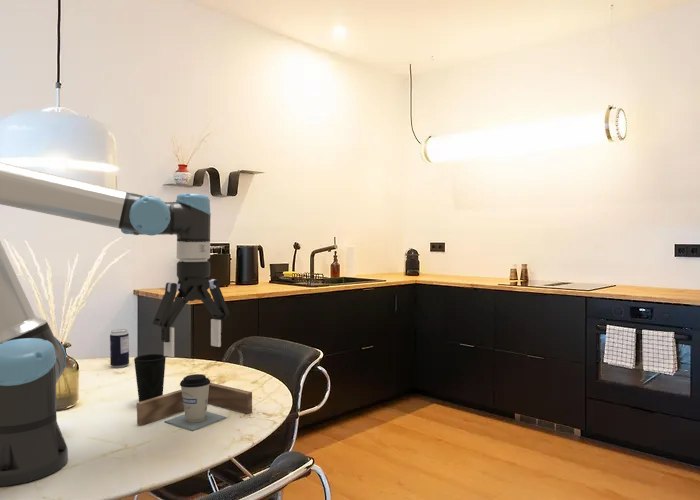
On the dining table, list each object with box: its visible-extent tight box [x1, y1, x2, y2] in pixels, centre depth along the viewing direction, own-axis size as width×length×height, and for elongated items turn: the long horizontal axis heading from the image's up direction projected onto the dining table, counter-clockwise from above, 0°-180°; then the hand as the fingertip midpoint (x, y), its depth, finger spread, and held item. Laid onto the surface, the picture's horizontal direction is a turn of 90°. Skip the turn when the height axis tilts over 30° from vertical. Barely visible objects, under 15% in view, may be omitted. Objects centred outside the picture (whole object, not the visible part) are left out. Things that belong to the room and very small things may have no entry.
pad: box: [164, 411, 228, 432], centre depth 125 cm, size 10×10×1 cm
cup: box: [133, 353, 167, 402], centre depth 137 cm, size 8×8×12 cm
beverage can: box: [109, 328, 130, 369], centre depth 176 cm, size 6×6×12 cm
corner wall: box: [136, 382, 253, 427], centre depth 126 cm, size 20×16×5 cm
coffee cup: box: [179, 373, 211, 422], centre depth 125 cm, size 7×7×10 cm
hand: (193, 351), depth 124 cm, fingers open, 13 cm apart
